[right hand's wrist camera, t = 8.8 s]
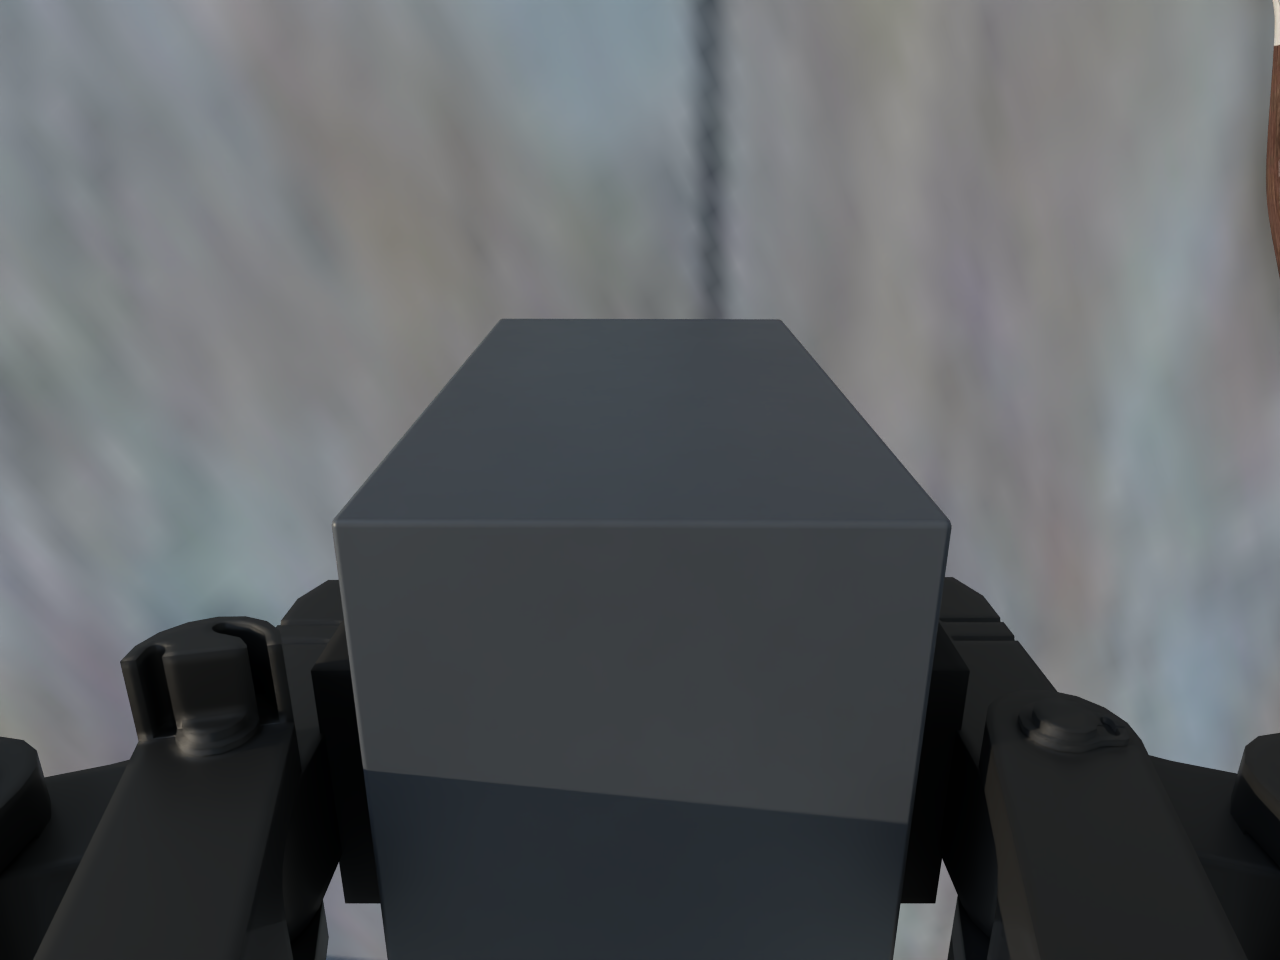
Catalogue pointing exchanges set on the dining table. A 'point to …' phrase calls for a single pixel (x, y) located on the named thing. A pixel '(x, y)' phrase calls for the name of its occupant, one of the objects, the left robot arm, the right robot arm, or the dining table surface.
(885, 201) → the dining table surface
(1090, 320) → the dining table surface
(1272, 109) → the fork
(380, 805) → the bar
